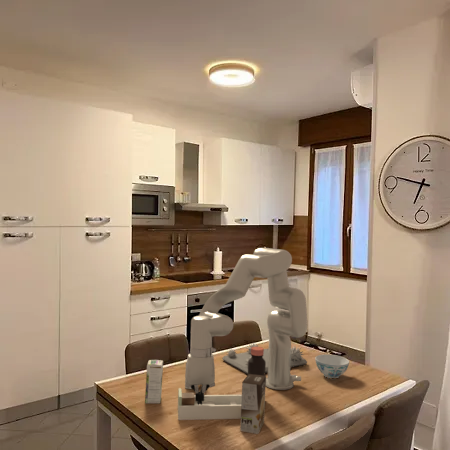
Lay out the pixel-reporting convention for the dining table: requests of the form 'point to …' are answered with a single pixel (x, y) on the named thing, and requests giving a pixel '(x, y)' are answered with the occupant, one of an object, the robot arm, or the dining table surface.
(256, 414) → the coffee box
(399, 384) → the dining table surface
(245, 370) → the decorative tray
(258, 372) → the bottle
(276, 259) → the robot arm
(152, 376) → the syrup box
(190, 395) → the walnut block
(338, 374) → the chinaware
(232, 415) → the tray
